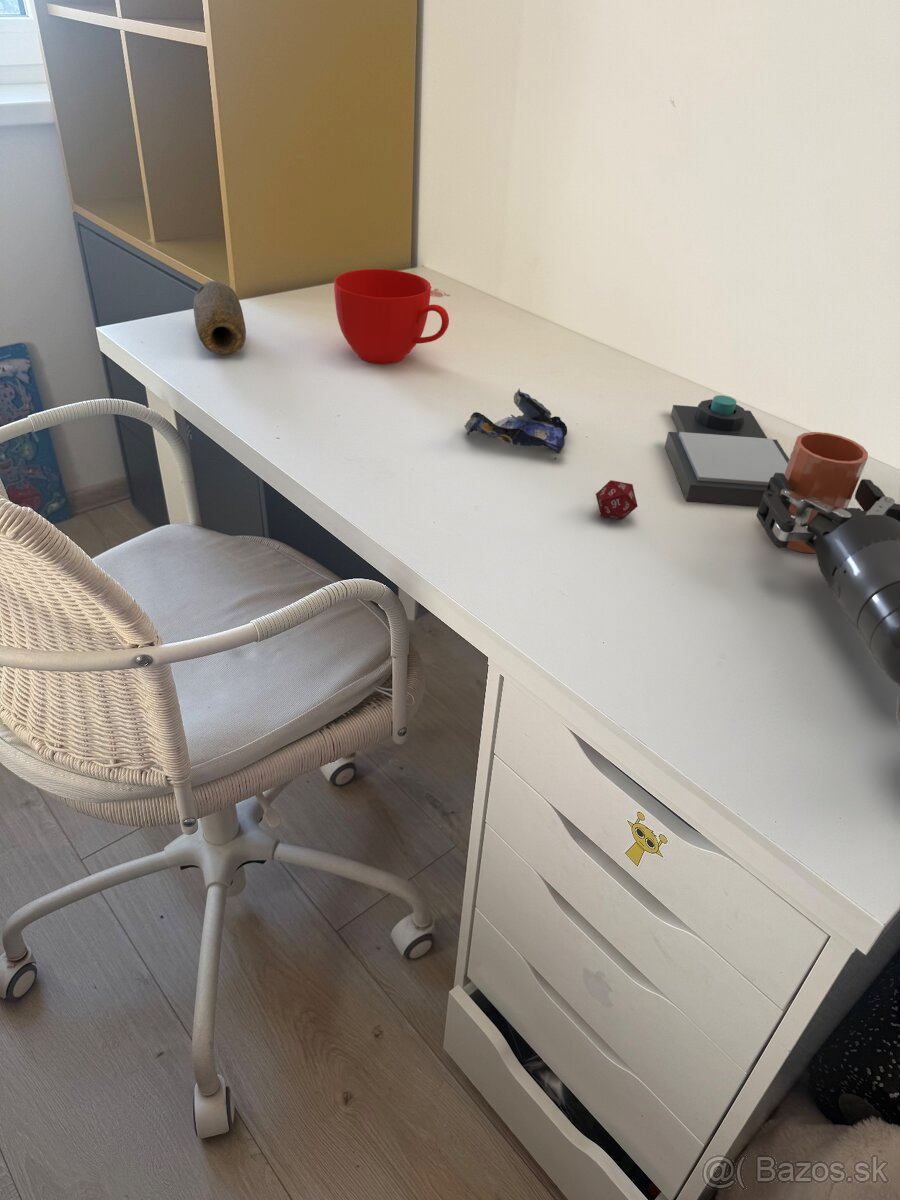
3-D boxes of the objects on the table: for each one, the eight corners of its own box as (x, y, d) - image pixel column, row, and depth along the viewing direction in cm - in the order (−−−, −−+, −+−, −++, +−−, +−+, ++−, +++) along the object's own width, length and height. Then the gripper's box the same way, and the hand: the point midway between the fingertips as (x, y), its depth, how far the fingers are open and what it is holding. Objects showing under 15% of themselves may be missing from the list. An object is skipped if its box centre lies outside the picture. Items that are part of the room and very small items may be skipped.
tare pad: (747, 420, 107) (753, 398, 105) (764, 448, 101) (771, 425, 99) (670, 414, 107) (676, 392, 105) (682, 442, 101) (688, 419, 99)
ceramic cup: (418, 389, 108) (421, 312, 102) (316, 356, 115) (313, 282, 109) (468, 361, 117) (474, 288, 111) (371, 332, 124) (371, 263, 118)
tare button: (730, 407, 103) (733, 396, 103) (735, 417, 101) (739, 405, 100) (707, 406, 103) (711, 394, 103) (712, 415, 101) (716, 403, 100)
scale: (771, 454, 100) (778, 435, 98) (805, 509, 89) (813, 489, 88) (664, 446, 99) (669, 427, 98) (686, 501, 89) (691, 480, 88)
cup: (819, 521, 87) (853, 434, 81) (840, 555, 82) (878, 465, 76) (758, 516, 87) (788, 429, 81) (776, 550, 82) (808, 460, 76)
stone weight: (189, 324, 122) (183, 277, 118) (238, 321, 124) (234, 275, 120) (202, 362, 111) (196, 311, 107) (255, 358, 113) (251, 309, 109)
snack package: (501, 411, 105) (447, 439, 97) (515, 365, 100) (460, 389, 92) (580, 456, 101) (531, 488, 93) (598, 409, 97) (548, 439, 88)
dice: (628, 531, 83) (636, 496, 81) (586, 518, 85) (593, 484, 82) (638, 515, 86) (646, 481, 84) (598, 503, 87) (604, 469, 85)
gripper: (987, 548, 66) (904, 454, 79) (811, 535, 66) (757, 444, 79) (947, 621, 71) (875, 521, 84) (782, 610, 70) (735, 511, 83)
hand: (818, 484), depth 81 cm, fingers open, 8 cm apart
